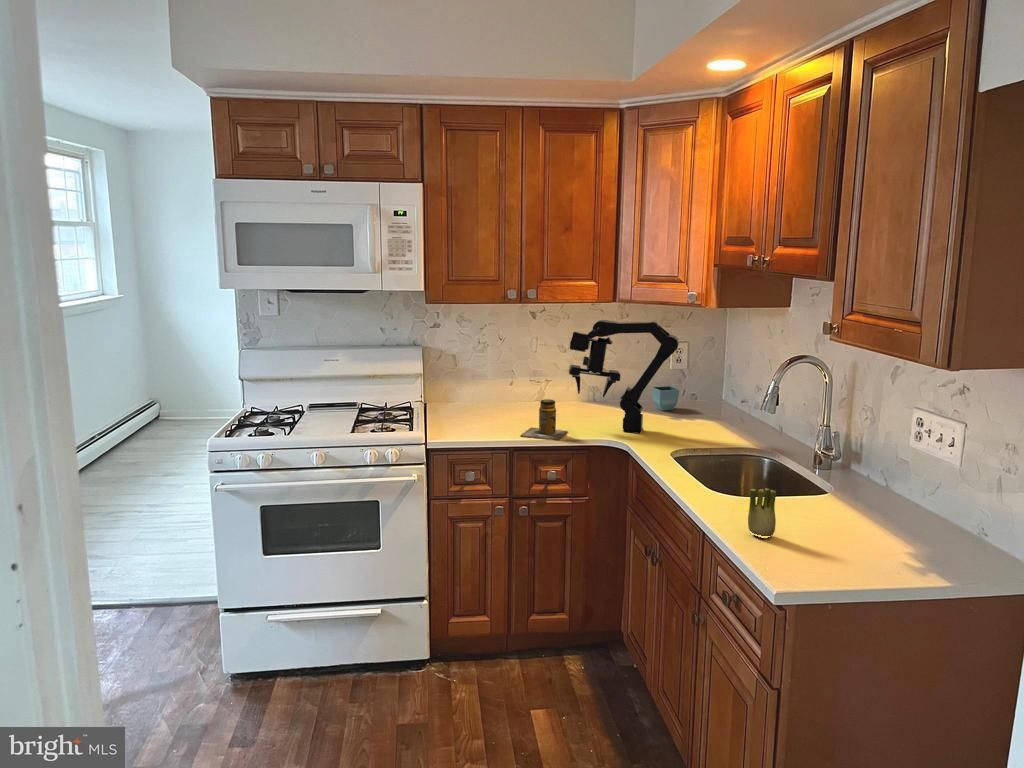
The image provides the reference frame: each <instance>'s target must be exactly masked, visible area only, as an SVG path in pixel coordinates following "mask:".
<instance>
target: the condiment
mask: <svg viewBox="0 0 1024 768" xmlns="http://www.w3.org/2000/svg"><path fill="white" fill-rule="evenodd" d="M539 406H540V407H539V409H538V428H539V431H531V433H533V434H535V435H538V436H548V435H555V434H560V433H558V432H555V431H556V430H557V428H556V426H557V425H556V423H557V408H556V401H555V400H554V399H548V398H547V399H541V400H540V405H539Z"/></svg>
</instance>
